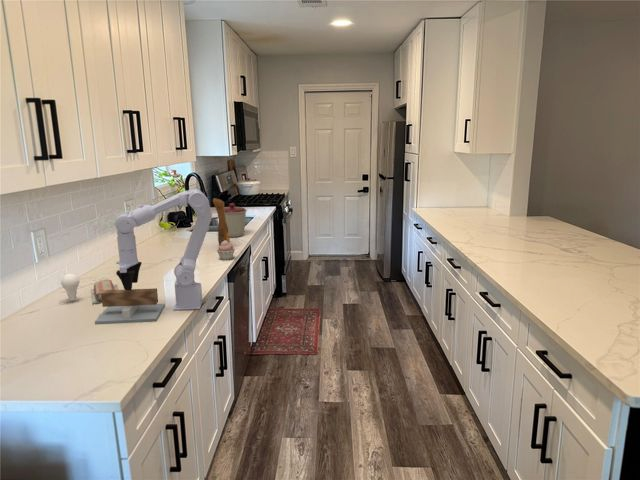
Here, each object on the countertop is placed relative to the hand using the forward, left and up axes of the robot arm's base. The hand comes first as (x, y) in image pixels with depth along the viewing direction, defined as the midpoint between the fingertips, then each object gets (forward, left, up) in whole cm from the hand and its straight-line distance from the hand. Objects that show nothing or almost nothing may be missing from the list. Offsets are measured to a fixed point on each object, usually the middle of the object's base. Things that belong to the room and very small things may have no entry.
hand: (131, 286), depth 155 cm
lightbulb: (+27, -15, -10) cm, 32 cm away
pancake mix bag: (-24, -93, -10) cm, 97 cm away
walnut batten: (0, +1, -6) cm, 6 cm away
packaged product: (+16, -20, -11) cm, 28 cm away
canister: (-28, -123, -10) cm, 126 cm away
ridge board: (0, +1, -10) cm, 10 cm away
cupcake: (-27, -69, -10) cm, 75 cm away
